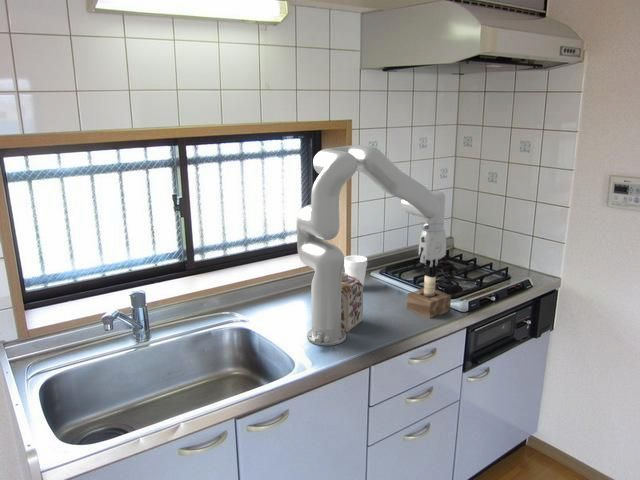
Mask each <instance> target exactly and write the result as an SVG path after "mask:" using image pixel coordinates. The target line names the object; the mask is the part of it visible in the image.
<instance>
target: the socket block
mask: <svg viewBox="0 0 640 480" xmlns="http://www.w3.org/2000/svg"><path fill="white" fill-rule="evenodd" d="M423 294H424V288H421V289H418V290H415V291H412V292H411V291H410V292H408V293H407V297H406V298H407V300H406V301H407V302H406V310H409V311H411V312H414V313H416V314H418V315H421V316H423V317H425V318H428V319H432V318H434V316H435V317H437V315H438V316H440V315H443V314H445V312H446V313H448V312H447V311H449V310H450V311H451V306H452V305H451V303H452V299H451V298H452V295H451V294H447V293H446V292H443V291H439V290H437V289H435V297H432V298H428V297H425V296H424V295H423ZM450 311H449V312H450ZM442 313H443V314H442ZM439 314H440V315H439Z"/></svg>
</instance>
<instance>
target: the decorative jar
mask: <svg viewBox="0 0 640 480" xmlns="http://www.w3.org/2000/svg"><path fill="white" fill-rule="evenodd" d="M363 313H364V286H363V285H362V284H361V283H360V281H359V280H357V279H356V278H355V277H353V276H348V274H347V273H345V271H343V273H342V282H341V329H342V330H343V331H344V332H345V333H349V332H350V331H351V330H352V329H354V328H355V327H357V326H358V325H359V324H360V323H361V322H362V321H363V318H364V317H363V315H364V314H363Z"/></svg>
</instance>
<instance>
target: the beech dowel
mask: <svg viewBox="0 0 640 480" xmlns="http://www.w3.org/2000/svg"><path fill="white" fill-rule="evenodd" d="M423 278H424V279H423V281H424V282H423V289H424V294H423V295H424V296H425V297H428V298H432V297H435V290H436V279H437V275H435V277H429V276H426V274H425V275H424V277H423Z"/></svg>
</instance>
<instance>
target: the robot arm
mask: <svg viewBox="0 0 640 480" xmlns="http://www.w3.org/2000/svg"><path fill="white" fill-rule="evenodd" d="M312 165H313V169H314V170H315V172H316V173H317V174H318V175H317V177H316V179H315V180H314V182H313V185H312V188H311V195H310V196H311V197H310V199H311V200H310V204H307V205H305V206H304V207H302V208H301V209H300V211H299V212H298V215H297V219H296V244H297V245H296V246H297V254H298V257H299V260H300V261H301V262H302V263H303V264H304V265H306V266H308V267H309V268H311V269H313V270H314V275H313V277H312V280H311V285H310V286H311V287H310V288H311V289H310V290H311V292H310V294H311V297H310V298H311V329H310V330H308V331H307V334H306V337H307V340H308V341H309V342H310V343H312V344H314V345H318V346H325V347H327V346H335V345H339V344H341V343H343V342H344V341H346V338H347V334H346V333H347V332H344V331H343V330H342V329H341V282H342V273H343V272H344V269H345V267H344V258H345V255H344V253H343V251H342V249H341V248H339V247H338V246H337V245H335V244H333V243H331V242H328V241H331V240H333V239H335V238H337V236H338V234H339V232H340V221H341V220H340V196H341V191H342V189H343V186H345V184H346V182H348V180H350V179H351V178H352V177H353V176H354V175H355V173H356V172H359V173H363V174H364V175H365V176H367V178H369V179H370V180H371V181H372V182H373V183H374V184H376V186H377V187H378V188H379V189H381V190H382V191H383V192H385V193H386V194H389V195H390V196H392V197H395V198H397V199H400V203H399V204H400V208H401V210H402V211H403V212H404V213H406V214H408V215H412V216H417V217H420V218H421V219H422V221H421V231H420V237H419V241H418V242H419V243H418V257H419V258H420V260H419V263H421V264H424V265H425V275H426V276H429V277H435V276H437V275H436V272H437V271H436V270H437V266H438V263H439V260H442V258H444V257H445V256H446V253H447V236H446V230H445V211H446V195H445V193H444V192H442V191H437V190H434V191H433V190H432V191H431V190H429V189H428V188H427V187H426V186H424V185H423V184H422V183H421V182H419V181H417V180H416V179H414V178H412V177H411V176H410V175H408V174H407V173H405V172H403V171H402V170H401V169H400V168H399V167H398V166H397V165H395V163H393V162H392V160H390V159H389V158H388V157H387V156H386V155H385V153H383V152H382V151H381V150H379V148H377V147H375V146H372V145H363V144H353V145H352V144H351V145H346V146H339V147H330V148H324V149H321V150H319V151H318V152H317V153H316V154H315V155H314V157H313V162H312Z"/></svg>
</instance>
